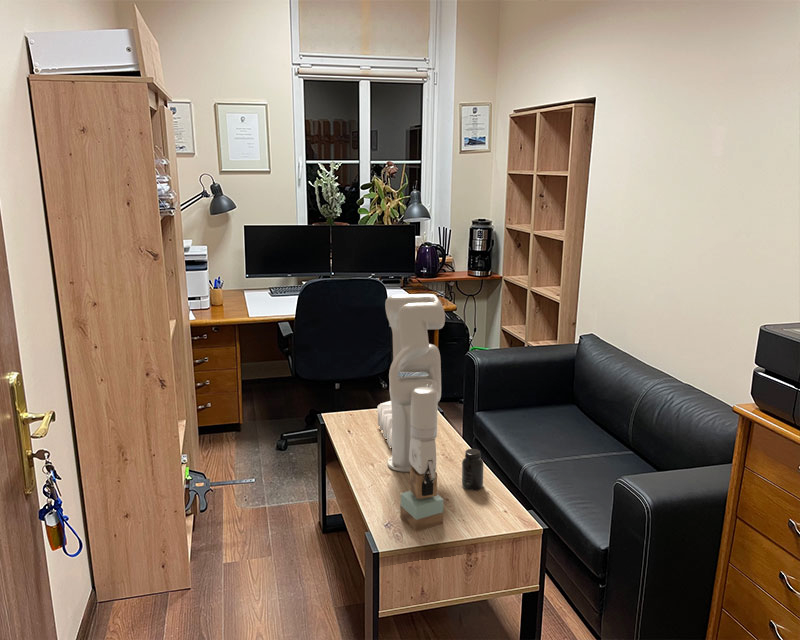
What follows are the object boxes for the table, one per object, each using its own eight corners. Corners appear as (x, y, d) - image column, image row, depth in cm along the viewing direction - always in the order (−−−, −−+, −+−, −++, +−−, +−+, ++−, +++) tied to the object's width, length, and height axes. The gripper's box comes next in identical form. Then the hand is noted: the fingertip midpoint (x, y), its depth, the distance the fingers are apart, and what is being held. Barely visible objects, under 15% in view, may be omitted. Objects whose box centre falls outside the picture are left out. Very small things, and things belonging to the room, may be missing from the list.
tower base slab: (400, 518, 191) (400, 505, 191) (426, 510, 196) (426, 498, 195) (416, 532, 184) (416, 519, 183) (442, 524, 188) (443, 511, 187)
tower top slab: (400, 505, 191) (400, 493, 190) (427, 498, 195) (427, 486, 194) (416, 519, 183) (416, 506, 182) (443, 512, 187) (443, 499, 186)
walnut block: (409, 489, 189) (409, 467, 188) (429, 486, 191) (429, 464, 190) (417, 499, 184) (417, 476, 182) (436, 495, 186) (437, 473, 184)
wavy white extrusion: (375, 420, 267) (374, 396, 264) (414, 418, 269) (414, 393, 267) (389, 456, 233) (389, 428, 231) (434, 452, 236) (434, 425, 234)
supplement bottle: (469, 479, 215) (470, 445, 213) (486, 485, 211) (488, 450, 209) (457, 486, 210) (458, 452, 208) (475, 493, 206) (476, 457, 203)
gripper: (401, 421, 190) (400, 478, 194) (422, 444, 174) (421, 505, 178) (425, 418, 193) (424, 475, 197) (448, 440, 177) (447, 501, 181)
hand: (423, 489), depth 187 cm, fingers closed on walnut block, 6 cm apart
